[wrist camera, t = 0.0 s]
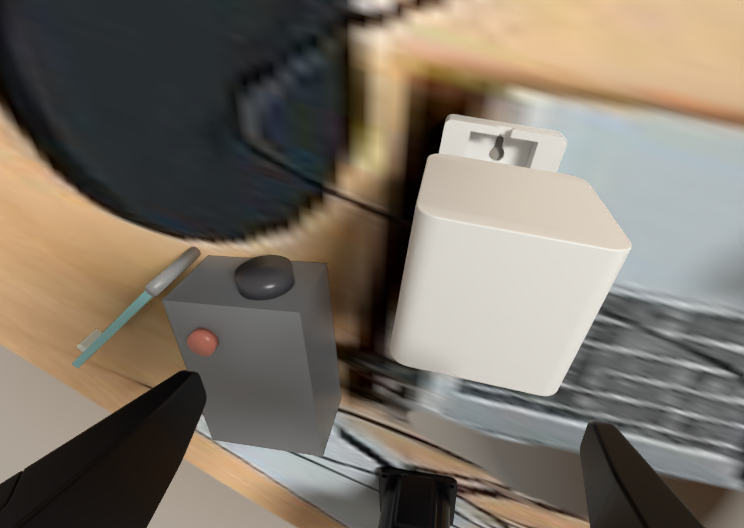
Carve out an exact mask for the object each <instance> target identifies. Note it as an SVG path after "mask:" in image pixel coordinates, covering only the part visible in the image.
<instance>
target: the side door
mask: <svg viewBox="0 0 744 528" xmlns="http://www.w3.org/2000/svg"><path fill="white" fill-rule="evenodd" d="M199 256H200V251H199V250H198V249H197V248H196V247H190V248H189V249H188V250H187V251H185V252H184V253H183V254H182V255H181V256H180V257H179V258H177V259H176V260H175V261H174V262H173V263H172V264H170V265H169V266H168V267H167V268H166V269H165V270H163V271H162V272H161V273H160V274H159V275H158V276H157V277H155V278H154V279H153V280H152V281H151V282H150V283H148V284H147V285H146V286H145V291H144V292H143V293H142V294H141V295H140V296H139V297H138V298H137V299H136V300H135V301H134V302H133V303H132V304H131V305H130V306H129V307H128V308H127V309H126V310H125V311H124V312H123V313H122V314H121V315H120V316H119V317H118V318H117V319H116V320H115V321H114V322H113V323H112V324H111V325H110V326H109V327H108V328H107V329H106V330H105V331H104V332H103V333H102V332H100V331H99V330H98V329H95V330H94V331H93V332H92V333H91V334H90V335H88V336H87V337H86V338H85V339H84V340H83V341H82V342H80V343H79V344H78V345H77V346H76V347H77V348H78V349H80V350H81V351H82V352H83V353H82V354H81V355H80V356H79V357H78V358H77V359H76V360H75V361H74V362H73V363H72V365H74V366H75V367H77V368H79V367H80V366H81V365H82V364H83V363H84V362H85V361H86V360H88V359H89V358H90V357H91V356H92V355H93V354H94V353H95V352H96V351H97V350H98V349H99V348H100V347H102V346H103V345H104V344H105V343H106V342H107V341H108V340H109V339H110V338H111V337H112V336H113V335H114V334H116V333H117V332H118V331H119V330H120V329H121V328H122V327H123V326H124V325H125V324H126V323H127V322H128V321H129V320H130V319H131V318H132V317H133V316H134V315H136V314H137V313H138V312H139V311H140V310H141V309H142V308H143V307H144V306H145V305H146V304H147V303H148V302H149V301H150V300H151V299H152V298H153V297H154V296H157V295H159V294H160V293H161V292H162V291H163V290H164V289H165V288H166V287H167V286H168V285H169V284H170V283H171V282H172V281H174V280H175V279H176V278H177V277H178V276H179V275H180V274H181V273H182V272H183V271H184V270H185V269H186V268H188V267H189V266H190V265H191V264H192V263H193V262H194V261H195V260H196V259H197V258H198V257H199Z"/></svg>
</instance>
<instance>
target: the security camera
mask: <svg viewBox="0 0 744 528" xmlns="http://www.w3.org/2000/svg"><path fill="white" fill-rule="evenodd" d="M499 136H502V137H503V138H504V141H503V144H502V149H503V150H504V154H503V156H502V157H501V158H500V159H498V160H493V159H491V158H490V157H489V151H490V150H491V149H492V148H493V147H494V146H495V142H496V139H497V137H499ZM566 146H567V140H566V139H565V137H564V136H563V135H562V134H561V132H559V131H556V130H550V129H544V128H537V127H531V126H525V125H518V124H512V123H506V122H499V121H493V120H487V119H480V118H474V117H468V116H461V115H455V114H450V115H448V116H447V117H446V120H445V125H444V130H443V135H442V140H441V145H440V150H439V154H432V155H430V156H429V157H428V158H427V162H426V166H425V170H424V174H423V178H422V182H421V186H420V190H419V194H418V198H417V202H416V207H415V213H414V218H413V224H412V229H411V234H410V240H409V245H408V251H407V256H406V262H405V267H404V273H403V278H402V283H401V289H400V294H399V300H398V305H397V311H396V316H395V322H394V327H393V332H392V338H391V343H390V353H391V355H392V357H393V358H394V359H395V360H396V361H397V362H399V363H400V364H402V365H405V366H408V367H413V368H418V369H422V370H427V371H431V372H436V373H440V374H445V375H449V376H454V377H458V378H463V379H467V380H472V381H476V382H481V383H485V384H490V385H495V386H499V387H504V388H508V389H513V390H517V391H522V392H526V393H531V394H535V395H540V396H550V395H553V394H555V393H556V392H557V390H558V388H559V387H560V385H561V383H562V381H563V379H564V377H565V375H566V373H567V371H568V369H569V367H570V365H571V363H572V361H573V360H574V358H575V356H576V354H577V352H578V350H579V348H580V346H581V344H582V342H583V340H584V338H585V336H586V334H587V333H588V331H589V329H590V327H591V325H592V323H593V321H594V319H595V317H596V315H597V313H598V311H599V309H600V307H601V305H602V304H603V302H604V300H605V298H606V296H607V294H608V292H609V290H610V288H611V286H612V284H613V282H614V280H615V278H616V277H617V275H618V273H619V271H620V269H621V267H622V265H623V263H624V261H625V259H626V257H627V255H628V253H629V251H630V250H631V248H632V245H631V242H630V241H629V239H628V238H627V236H626V235H625V234H624V232H623V231H622V229H621V228H620V227H619V225H618V224H617V222H616V221H615V220H614V218H613V217H612V215H611V214H610V213H609V211H608V210H607V208H606V207H605V205H604V204H603V203H602V201H601V200H600V198H599V197H598V196H597V194H596V193H595V191H594V190H593V189H592V187H591V186H590V184H589V183H587V182H586V181H584V180H583V179H580V178H578V177H575V176H572V175H567V174H561V173H557V171H558V168H559V165H560V163H561V160H562V157H563V154H564V152H565V149H566Z"/></svg>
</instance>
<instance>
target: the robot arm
mask: <svg viewBox="0 0 744 528" xmlns="http://www.w3.org/2000/svg"><path fill="white" fill-rule="evenodd" d="M206 400H207V394H206V391H205V388H204V385H203V382H202V379H201V376H200V374H199V373H198V372H195V371H187V370H183V371H180V372H178V373H176V374H174V375H173V376H171V377H170V378H168V379H167V380H165V381H163V382H162V383H160V384H159V385H157V386H155V387H154V388H152V389H151V390H149V391H147V392H146V393H144V394H143V395H141V396H139V397H138V398H136V399H135V400H133V401H132V402H130V403H128V404H127V405H125V406H124V407H122V408H120V409H119V410H117V411H116V412H114V413H112V414H111V415H110V416H108V417H106V418H105V419H103V420H101V421H100V422H98V423H97V424H95V425H93V426H92V427H90V428H89V429H87V430H86V431H84V432H82V433H81V434H79V435H78V436H76V437H74V438H73V439H71V440H70V441H68V442H66V443H65V444H63V445H62V446H60V447H59V448H57V449H55V450H54V451H52V452H51V453H49V454H47V455H46V456H44V457H43V458H41V459H40V460H38V461H36V462H35V463H33V464H31V465H30V466H28V467H27V468H25V470H24V471H21V472H19V473H17V474H15V475H14V476H12V477H11V478H9V479H7V480H6V481H5V482H3V483H1V484H0V528H147V526H148V524H149V522H150V520H151V518H152V517H153V515H154V513H155V511H156V509H157V507H158V505H159V503H160V501H161V500H162V498H163V496H164V494H165V492H166V490H167V488H168V487H169V485H170V483H171V481H172V479H173V477H174V475H175V473H176V471H177V469H178V467H179V465H180V464H181V461H182V459H183V457H184V455H185V453H186V450H187V448H188V445H189V443H190V441H191V438H192V436H193V433H194V431H195V429H196V426H197V424H198V421H199V419H200V417H201V414H202V412H203V409H204V407H205V404H206ZM580 457H581V465H582V472H583V479H584V486H585V493H586V501H587V508H588V515H589V522H590V528H705V527H704V526H703V525H702V523H701V522H700V521H699V520H698V519H697V518H696V517H695V516H694V514H693V513H692V512H691V511H690V510H689V509H688V508H687V507H686V506H685V504H684V503H683V502H682V501H681V500H680V499H679V498H678V496H677V495H676V494H675V493H674V492H673V491H672V490H671V489H670V487H669V486H668V485H667V484H666V483H665V482H664V481H663V480H662V478H661V477H660V476H659V475H658V474H657V473H656V472H655V471H654V469H653V468H652V467H651V466H650V465H649V464H648V463H647V462H646V460H645V459H644V458H643V457H642V456H641V455H640V454H639V453H638V451H637V450H636V449H635V448H634V447H633V446H632V445H631V444H630V442H629V441H628V440H627V439H626V438H625V437H624V436H623V435H622V433H621V432H620V431H619V430H618V429H617V428H616V427H615V426H614V425H613V424H612V423H609V422H603V421H595V420H591V421H590V422H589V423H588V425H587V428H586V431H585V434H584V436H583V439H582V442H581V446H580ZM379 493H380V511H381V515H380V521H379V527H378V528H450V526H451V525H453V519H454V511H455V502H456V493H457V481H456V480H455V479H452V478H446V477H440V476H433V475H427V474H420V473H414V472H407V471H401V470H394V469H388V468H381V469H380V471H379Z"/></svg>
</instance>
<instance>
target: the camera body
mask: <svg viewBox="0 0 744 528" xmlns="http://www.w3.org/2000/svg"><path fill="white" fill-rule="evenodd" d="M162 302H163V305H164V308H165V311H166V313H167V316H168V319H169V322H170V324H171V327H172V330H173V332H174V335H175V338H176V341H177V343H178V346H179V349H180V352H181V354H182V357H183V360H184V363H185V365H186V368H187V371H195V372H198V373H199V374H200V376H201V379H202V382H203V385H204V388H205V391H206V394H207V400H206V404H205V407H204V409H203V415H204V417H205V420H206V423H207V425H208V428H209V431H210V434H211V436H212V439H213V440H217V441H224V442H230V443H237V444H243V445H250V446H256V447H263V448H270V449H276V450H283V451H289V452H296V453H302V454H309V455H315V456H322V457H323V454H324V451H325V448H326V445H327V442H328V439H329V435H330V432H331V429H332V426H333V423H334V420H335V417H336V413H337V410H338V407H339V404H340V401H341V389H340V380H339V371H338V362H337V353H336V343H335V334H334V325H333V316H332V307H331V297H330V288H329V279H328V270H327V263H315V262H300V261H290V260H289V259H287V258H285V257H282V256H277V255H266V256H260V257H256V258H240V257H225V256H210V255H208V256H207V257H206V258H205V259H204V260H203V261H202V262H201V263H200V264H199V265H198V266H197V267H196V268H195V269H194V270H193V271H192V272H191V273H190V274H189V275H188V276H187V277H186V278H184V279H183V280H182V281H181V282H180V283H179V284H178V285H177V286H176V287H175V288H174V289H173V290H172V291H171V292H170V293H169V294H168V295H167V296H166V297H165V298H164V299H163V300H162Z"/></svg>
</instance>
